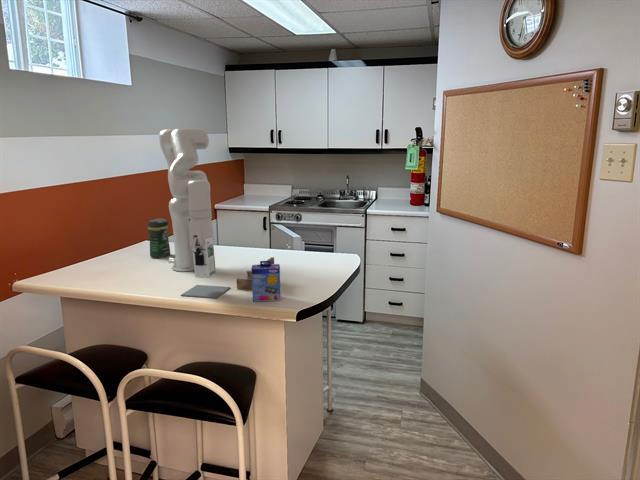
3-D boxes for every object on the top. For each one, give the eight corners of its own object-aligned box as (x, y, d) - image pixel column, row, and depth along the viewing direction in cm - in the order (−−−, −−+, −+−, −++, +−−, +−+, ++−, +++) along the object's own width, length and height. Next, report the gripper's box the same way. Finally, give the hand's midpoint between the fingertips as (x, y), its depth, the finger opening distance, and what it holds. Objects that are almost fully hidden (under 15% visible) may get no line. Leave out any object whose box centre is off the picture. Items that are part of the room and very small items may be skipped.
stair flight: (237, 289, 177) (235, 263, 175) (248, 280, 188) (247, 256, 186) (264, 291, 175) (263, 265, 173) (275, 281, 186) (274, 257, 183)
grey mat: (181, 296, 171) (180, 294, 171) (197, 286, 182) (197, 284, 182) (216, 298, 167) (216, 297, 167) (230, 288, 179) (230, 286, 179)
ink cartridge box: (252, 302, 163) (250, 262, 160) (253, 297, 168) (251, 258, 165) (280, 301, 164) (279, 261, 161) (280, 296, 169) (279, 257, 166)
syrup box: (209, 278, 170) (206, 239, 167) (194, 277, 171) (191, 238, 168) (216, 274, 175) (213, 236, 172) (201, 273, 177) (198, 235, 173)
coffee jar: (161, 259, 224) (158, 220, 220) (147, 258, 226) (143, 220, 222) (173, 254, 233) (170, 217, 229) (159, 253, 235) (156, 216, 231)
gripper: (202, 210, 178) (206, 257, 181) (178, 218, 161) (183, 268, 165) (220, 211, 176) (223, 257, 179) (198, 218, 159) (202, 269, 163)
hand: (204, 262), depth 172 cm, fingers closed on syrup box, 5 cm apart
